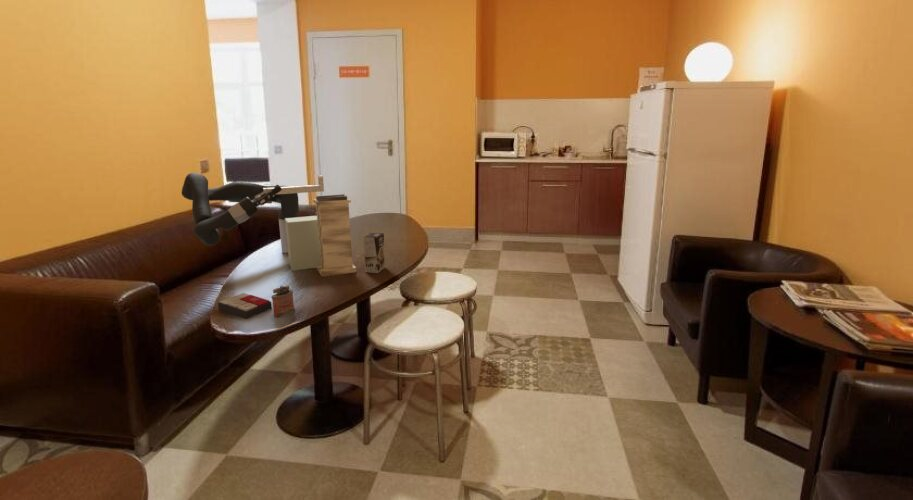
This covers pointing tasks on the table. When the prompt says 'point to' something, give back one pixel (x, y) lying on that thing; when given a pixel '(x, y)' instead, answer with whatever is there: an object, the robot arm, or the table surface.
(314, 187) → the hook bar
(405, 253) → the table surface
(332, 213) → the tall stand
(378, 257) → the coffee box
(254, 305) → the red and beige box
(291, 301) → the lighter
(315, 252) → the upright cream box
